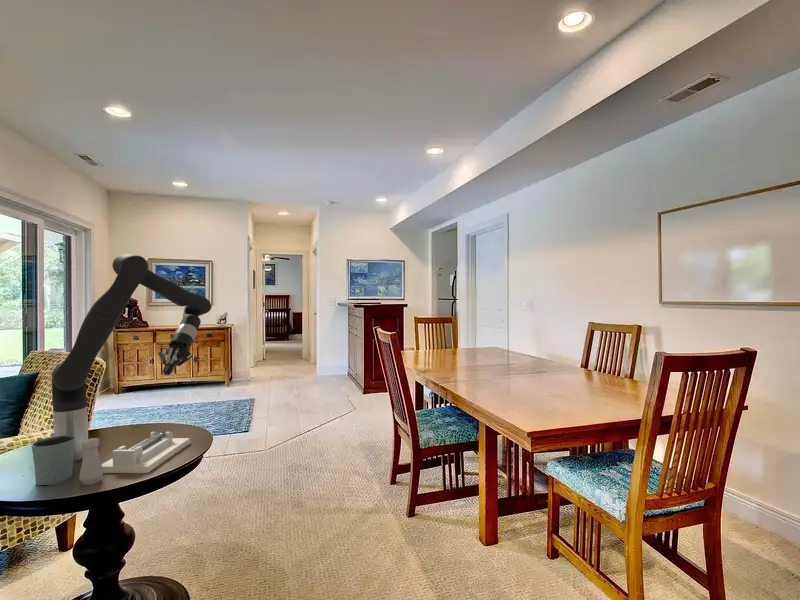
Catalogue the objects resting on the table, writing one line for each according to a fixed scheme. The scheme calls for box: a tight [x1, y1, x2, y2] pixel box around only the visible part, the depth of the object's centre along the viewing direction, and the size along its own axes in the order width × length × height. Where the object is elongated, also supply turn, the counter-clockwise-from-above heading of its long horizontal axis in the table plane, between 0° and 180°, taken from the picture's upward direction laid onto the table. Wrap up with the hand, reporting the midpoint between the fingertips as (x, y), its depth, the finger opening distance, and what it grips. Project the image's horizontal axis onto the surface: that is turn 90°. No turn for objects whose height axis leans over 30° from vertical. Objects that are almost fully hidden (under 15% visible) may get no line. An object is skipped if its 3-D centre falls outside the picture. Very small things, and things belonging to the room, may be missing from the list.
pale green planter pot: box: [30, 435, 75, 486], centre depth 127 cm, size 10×10×12 cm
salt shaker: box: [78, 437, 104, 486], centre depth 124 cm, size 6×6×13 cm
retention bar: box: [129, 432, 166, 450], centre depth 143 cm, size 3×19×1 cm, turn 179°
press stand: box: [101, 431, 191, 474], centre depth 143 cm, size 16×25×7 cm, turn 179°
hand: (166, 374), depth 154 cm, fingers closed
